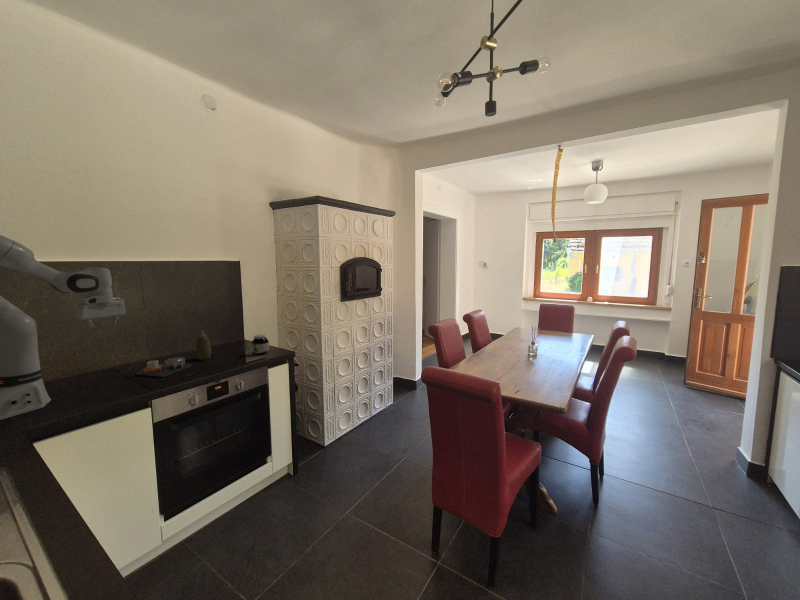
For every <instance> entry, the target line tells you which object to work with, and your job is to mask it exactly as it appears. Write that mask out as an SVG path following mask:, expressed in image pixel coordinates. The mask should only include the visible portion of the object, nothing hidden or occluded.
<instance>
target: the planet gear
mask: <svg viewBox="0 0 800 600" xmlns="http://www.w3.org/2000/svg"><path fill="white" fill-rule="evenodd" d="M151 361H152V360H149V361H147V364H146V365H147V366H145V367H144V368H142V370H143V372H145V373H147V372H156V371H161V370H162V369H164V366H162V365H160V364H159V362H160V361H159V360H158V359H157V360H153V361H155V362H152V363H151ZM142 370H141V371H142Z"/></svg>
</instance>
